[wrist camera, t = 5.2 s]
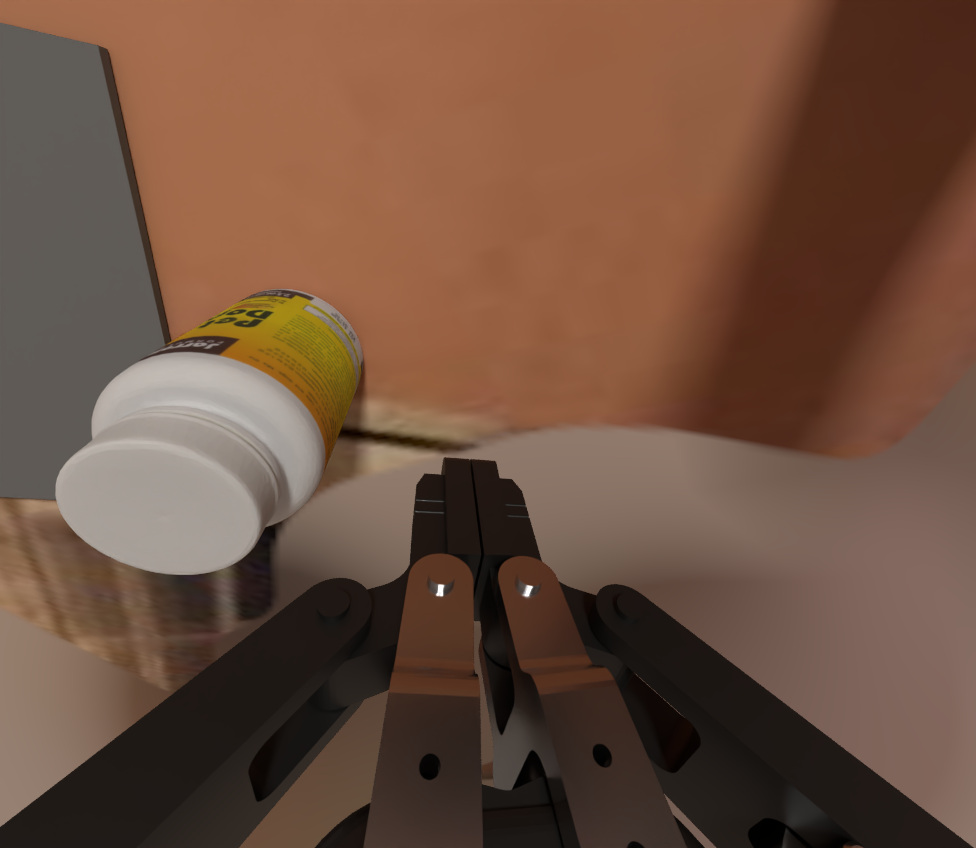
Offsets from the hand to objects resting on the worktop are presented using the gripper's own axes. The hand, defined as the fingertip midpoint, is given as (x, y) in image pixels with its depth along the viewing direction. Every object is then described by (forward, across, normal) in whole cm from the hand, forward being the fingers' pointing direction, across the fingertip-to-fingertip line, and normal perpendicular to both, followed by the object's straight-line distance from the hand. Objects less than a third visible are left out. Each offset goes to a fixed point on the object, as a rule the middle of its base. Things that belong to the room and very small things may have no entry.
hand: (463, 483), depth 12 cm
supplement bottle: (+8, +7, 0) cm, 11 cm away
